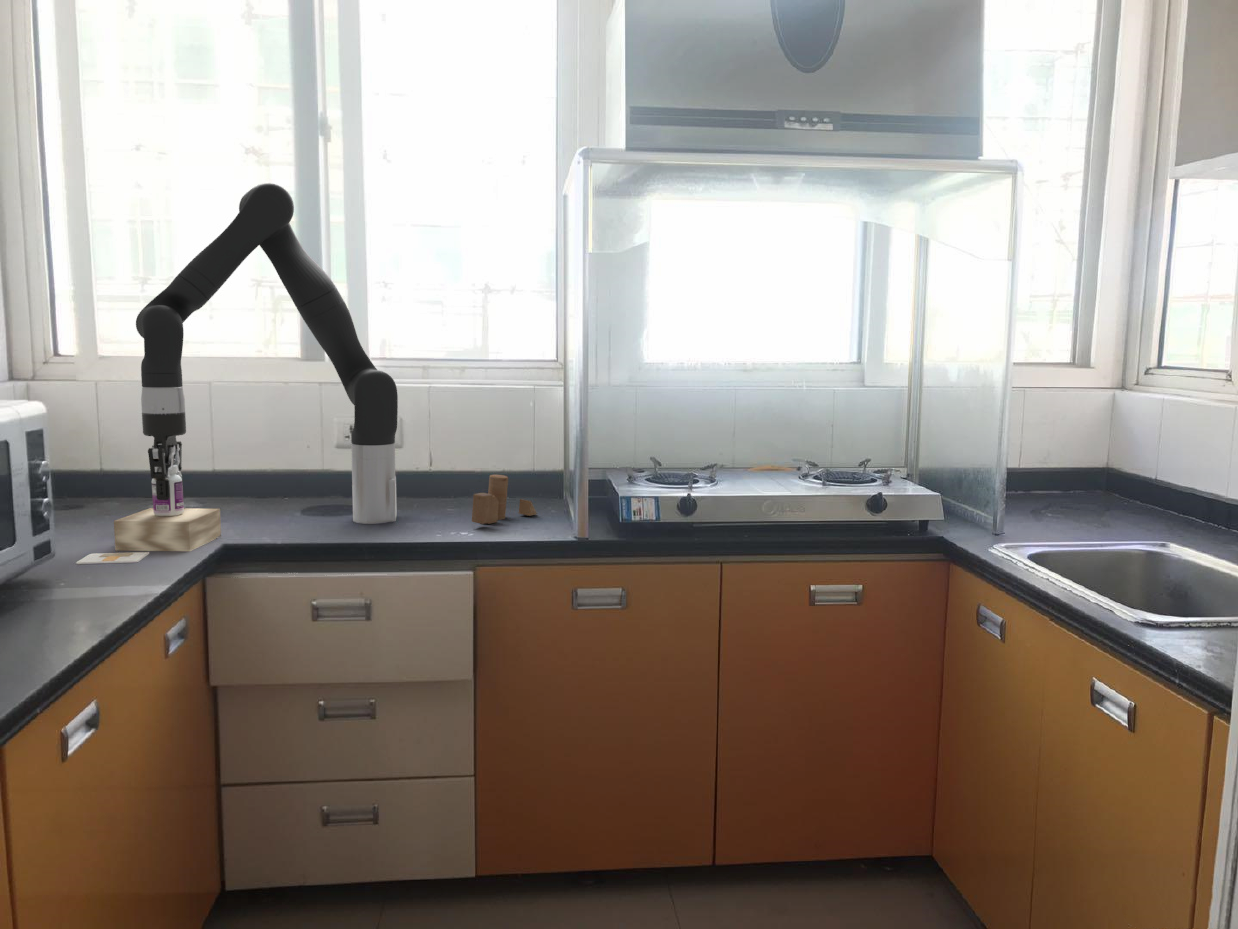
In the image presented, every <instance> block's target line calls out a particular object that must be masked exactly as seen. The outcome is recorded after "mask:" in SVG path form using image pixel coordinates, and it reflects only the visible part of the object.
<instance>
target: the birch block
mask: <svg viewBox="0 0 1238 929" xmlns="http://www.w3.org/2000/svg"><path fill="white" fill-rule="evenodd" d="M221 522H222V521H221V508H186V507H184V512H183V514H181V515H176V516H164V517H160V516H155V515H154V512H153V507H149V508H148V509H147V508H146V509H143V510H141V511H138V512H135V513H133V514H132V513H131V514H130V515H127V516H124V517H121V518H118V519H115V520H113V527H114V528H113V530H114V531H113V532H114V546H115V551H122V552H123V551H124V552H125V551H126V552H127V551H128V552H129V551H130V552H131V551H132V552H133V551H135V552H137V551H138V552H192V551H194V550H195V549H198V548H200V547H202V546H204V545H206V544H208V543H210V542H212V541H214V540H217V539H218V538H217V537H219V536H220V535H221V536H222V526H221V525H222V523H221ZM221 536H220V537H221ZM220 537H219V538H220ZM216 538H217V539H216Z"/></svg>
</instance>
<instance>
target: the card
mask: <svg viewBox="0 0 1238 929" xmlns="http://www.w3.org/2000/svg"><path fill="white" fill-rule="evenodd" d="M148 555H150V551H138V552H137V551H135V552H105V553H103V552H102V553H99V552H97V553H96V552H95V553H89V554H88V555H86V556H85V557H82V558H81V559H80V560H77V561H76V562H75V565H89V564H91V565H92V564H125V563H126V564H127V563H129V564H130V563H138V562H141V560H143V559H144V558H146V557H148Z"/></svg>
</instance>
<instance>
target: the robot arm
mask: <svg viewBox="0 0 1238 929" xmlns="http://www.w3.org/2000/svg"><path fill="white" fill-rule="evenodd" d="M294 204H295V203H294V200H293V197H292V196H291V194H290V193H289V191H287V190H286V188H284V187H282V186H281V185H278V184H277V183H276V184H275V183H269V182H268V183H260V184H258V185H256V186H254V187H252V188H251V189H249V190H248V191H247V192H246V193H245V194H244V195H243V196H242V197H241V199H240V201H239V205H238V209H239V210H238V213H237V215H236V216H235V218H234V219H233V220H232V221H231V222H230V224H229V225H228V226H227V227H226V228H225V229H224V230H223V231H222V232H221V233H220V234H219V235H218V236H217V237H216V238H215V239H214V240H212V242H210V243H209V244H208V245H207V246H205V247H204V249H203V250H201V251H200V252H199V253H198V254H197V255H196V256H195V257H194V258H193V259H192V260H190V262H189V263H188V264H186V265H185V267H184V268H183V269H181V271H180V272H179V273H178V274H177V275H176V276H175V277H174V278H173V280H172V281H171V283H170V284H169V285H168V286H167V287H166V288H165V289H163V290H162V291H161V292H160V293H158V295H156V296H155V297H154V298H153V299H151V301H149V302H148V303H147V304H146V305H145V306H144V307H143V308H142V309H141V310H140V311H139V312H138V314H137V315H136V320H135V328H136V332H137V333H138V335H139V336H140V337H141V338H143V350H144V355H143V356H144V357H143V359H142V360H141V364H140V373H141V374H140V375H141V376H140V377H141V397H140V400H141V402H140V404H141V421H142V422H141V423H142V434H143V435H144V436H146V437H153V445H152V446H151V447H148V449H147V453H148V461H149V470H150V478H151V480H152V479H154V480H155V481H156V492H157V499H158V500H168V499H170V484H169V479H170V469H172V468H173V465H177V469H178V471H177V473H176V475H179V473H180V472H179V471H181V472H182V470H183V467H182V462H183V461H182V456H183V455H182V451H183V450H182V446H183V443H182V441H181V440H180V441H177V436H184V435H185V434H186V433H187V422H186V400H185V395H184V389H183V385H184V384H183V374H182V373H183V370H182V357H183V356H182V355H183V348H184V322H185V321H186V320H187V319H188V318H189V317H190V316H191V315H192V314H193V313H194V312H197V311H198V310H200V309H201V308H202V307H204V306H205V305H206V304H207V303H208V302H209V301H210V300H211V299H212V298H213V296H214V295H215V294H216V293H217V292H218V291H219V289H220V288H222V287H223V285H225V283H226V282H227V281H228V279H230V277H231V276H232V274H234V272H235V271H236V270H237V269H238V267H240V265H241V264H242V263H243V262H244V261H245V260H246V259H247V258H248V257H249V256H250V255H251V254H252V252H253V251H254V250H256V249H257V248H258V246H259V247H260V248H261V250H262V251H263V252H264V253H265V255H266V257H267V258H268V259H269V261H270V263H271V264H272V265H273V268H274V269H275V271H276V273H277V276H278V277H279V279H280V281H281V283H282V284H283V286H284V288H285V289H286V292H287V293H288V295H289V296H290V299H291V300H292V302H293V304H294V306H295V308H296V309H297V312H298V313H299V315H300V316H301V318H302V319H303V321H304V323H305V324H306V326H307V327H308V329H309V330H310V332H311V334H312V335H313V337H314V338H315V340H316V341H317V343H318V344H319V345H320V347H321V348H322V350H323V351H324V352H325V354H326V355H327V357H328V358H329V360H330V361H331V363H332V365H333V367H334V369H335V371H336V373H337V375H338V378H339V380H340V381H341V384H342V386H343V388H344V391H345V393H346V395H347V397H348V399H349V401H350V402H351V404H352V405H353V406H354V421H353V422H354V423H353V428H352V430H351V433H350V435H351V436H350V438H351V440H350V443H351V444H350V445H351V446H350V447H351V449H350V450H351V482H352V483H351V487H352V488H351V491H352V521H353V522H354V523H357V524H364V525H373V524H374V525H376V524H377V525H378V524H387V523H391V522H392V523H393V522H396V521H397V514H398V513H397V476H396V433H397V430H398V413H399V412H398V410H399V408H398V403H399V401H398V400H399V398H398V397H399V396H398V388H397V385H396V382H395V380H394V378H392V376H391V375H390V374H389V373H387V372H384V371H383V370H380V369H379V370H378V369H377V368H376V366H375V365H374V363H373V362H372V361H371V360H370V357H369V356H368V354H367V353H366V351H365V349H364V348H363V346H362V344H361V343H360V340H359V337H358V334H357V331H356V327H355V324H354V322H353V321H354V320H353V318H352V315H351V313H350V310H349V308H348V306H347V304H346V302H345V300H344V298H343V297H342V295H341V293H340V291H339V290H338V288H337V286H336V284H335V283H334V281H333V280H332V279H331V277H330V276H329V274H327V272H325V270H324V269H323V268H322V267H321V266H320V265H319V264H318V262H316V261H315V260H314V259H313V257H311V256H310V254H309V253H308V252H307V251H306V250H305V249H304V247H303V246H302V244H301V243H300V240H299V239H298V237H297V236H296V233H295V232H294V230H293V227H292V226H291V224H290V222H291V220H292V219H293V217H294V213H295V205H294ZM160 469H161V470H162V472H159V470H160Z"/></svg>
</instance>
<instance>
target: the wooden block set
mask: <svg viewBox="0 0 1238 929" xmlns="http://www.w3.org/2000/svg"><path fill="white" fill-rule="evenodd" d="M508 485H509V476H507V475H504V474H490V475H489V479H488V490H487V491H488V493H487V492H478V493H474V494H473V496H472V497H473V498H472V511H471V522H472V523H476V524H480V525H485V524H488V525H490V524H491V525H492V524H495V523H498V521H499V520H505V519H506V512H507V501H508V500H507V498H508V487H509V486H508ZM518 505H519V508H518V514H520V515H523V516H524V515H525V516H529V517H530V516H535V515H536V516H537V515H538V514H537V510H536V509H535V507H534V505H533V503H532V500H531V501H530V500H526V499H522V498H519V504H518Z"/></svg>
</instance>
